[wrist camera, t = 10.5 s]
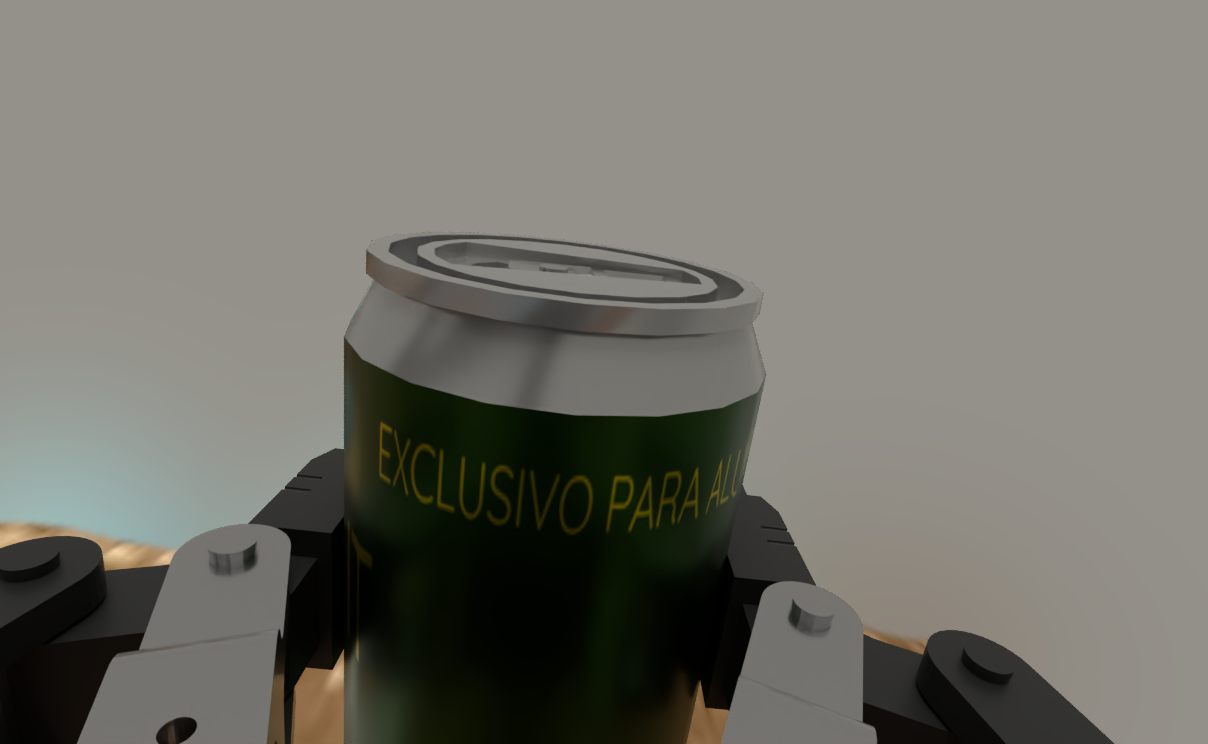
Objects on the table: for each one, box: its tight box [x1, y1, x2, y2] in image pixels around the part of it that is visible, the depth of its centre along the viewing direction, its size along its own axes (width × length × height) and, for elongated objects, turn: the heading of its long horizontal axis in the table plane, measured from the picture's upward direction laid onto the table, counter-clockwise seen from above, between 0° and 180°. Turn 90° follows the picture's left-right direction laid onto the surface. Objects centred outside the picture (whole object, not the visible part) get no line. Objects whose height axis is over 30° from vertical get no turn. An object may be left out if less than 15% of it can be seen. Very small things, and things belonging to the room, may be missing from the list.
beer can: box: [344, 232, 766, 744], centre depth 10 cm, size 5×5×12 cm
